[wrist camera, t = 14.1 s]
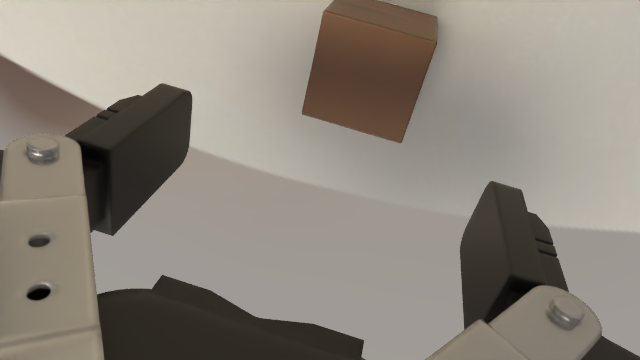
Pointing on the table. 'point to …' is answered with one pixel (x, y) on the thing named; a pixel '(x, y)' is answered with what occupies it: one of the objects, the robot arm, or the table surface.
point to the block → (370, 66)
